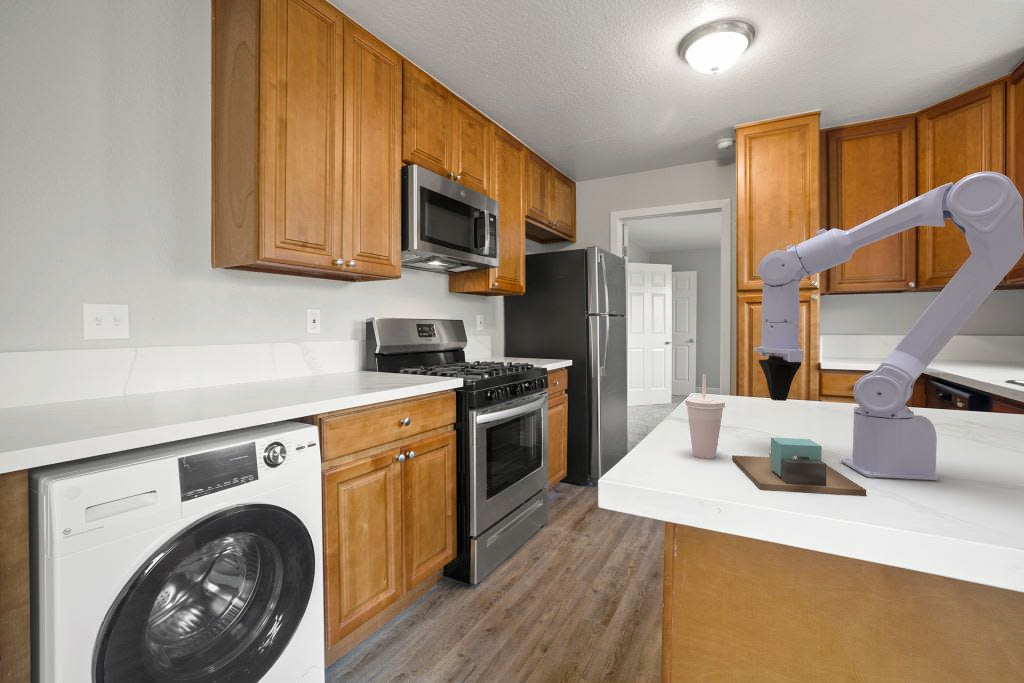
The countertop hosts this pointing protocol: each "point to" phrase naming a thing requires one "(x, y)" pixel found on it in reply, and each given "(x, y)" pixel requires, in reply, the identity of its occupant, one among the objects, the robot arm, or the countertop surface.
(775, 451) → the block
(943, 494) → the countertop surface
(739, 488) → the countertop surface
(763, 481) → the rail board
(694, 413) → the smoothie
